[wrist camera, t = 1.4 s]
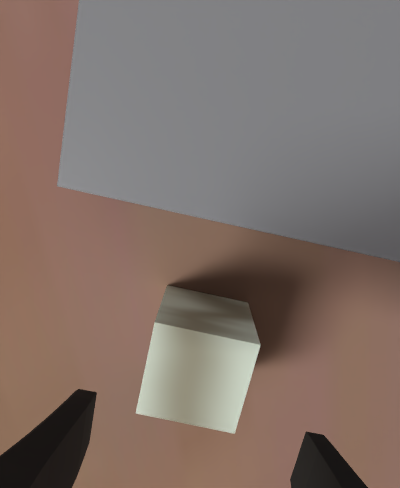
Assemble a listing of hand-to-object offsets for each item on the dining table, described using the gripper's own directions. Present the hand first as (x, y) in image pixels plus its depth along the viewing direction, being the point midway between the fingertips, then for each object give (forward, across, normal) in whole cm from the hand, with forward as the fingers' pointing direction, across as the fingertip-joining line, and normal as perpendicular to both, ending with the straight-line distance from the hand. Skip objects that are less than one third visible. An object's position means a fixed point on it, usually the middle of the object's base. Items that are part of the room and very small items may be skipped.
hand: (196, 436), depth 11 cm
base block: (+9, 0, -14) cm, 17 cm away
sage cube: (+10, 0, +1) cm, 10 cm away
